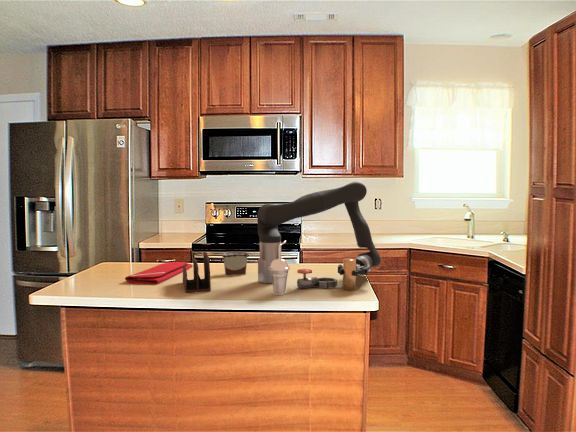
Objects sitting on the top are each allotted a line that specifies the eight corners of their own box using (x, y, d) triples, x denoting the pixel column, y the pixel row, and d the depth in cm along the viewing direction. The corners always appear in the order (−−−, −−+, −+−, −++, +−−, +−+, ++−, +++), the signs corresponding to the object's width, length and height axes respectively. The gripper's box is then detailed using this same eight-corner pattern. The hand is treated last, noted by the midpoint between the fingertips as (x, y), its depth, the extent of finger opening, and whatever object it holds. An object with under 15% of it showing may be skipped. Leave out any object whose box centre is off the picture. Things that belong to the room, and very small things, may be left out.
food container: (245, 271, 237) (245, 250, 236) (248, 274, 231) (248, 252, 230) (219, 273, 233) (219, 252, 232) (222, 275, 227) (222, 254, 226)
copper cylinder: (347, 291, 196) (347, 260, 195) (340, 288, 201) (340, 259, 200) (358, 289, 199) (358, 260, 198) (351, 287, 203) (351, 258, 202)
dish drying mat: (193, 268, 249) (193, 260, 249) (158, 285, 209) (158, 277, 209) (163, 267, 252) (163, 259, 251) (123, 284, 211) (123, 275, 211)
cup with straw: (264, 293, 194) (263, 241, 192) (283, 290, 199) (283, 240, 197) (276, 297, 187) (276, 244, 185) (295, 294, 192) (295, 242, 190)
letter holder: (206, 281, 215) (205, 249, 214) (211, 291, 196) (210, 256, 195) (182, 282, 213) (181, 250, 212) (185, 293, 194) (184, 257, 193)
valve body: (303, 291, 197) (303, 272, 196) (292, 286, 205) (293, 269, 204) (340, 286, 204) (341, 269, 204) (329, 282, 213) (329, 265, 212)
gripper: (343, 255, 215) (330, 262, 199) (375, 258, 209) (365, 265, 194) (342, 273, 215) (330, 280, 200) (375, 275, 210) (365, 284, 194)
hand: (347, 273), depth 197 cm, fingers closed on copper cylinder, 5 cm apart
